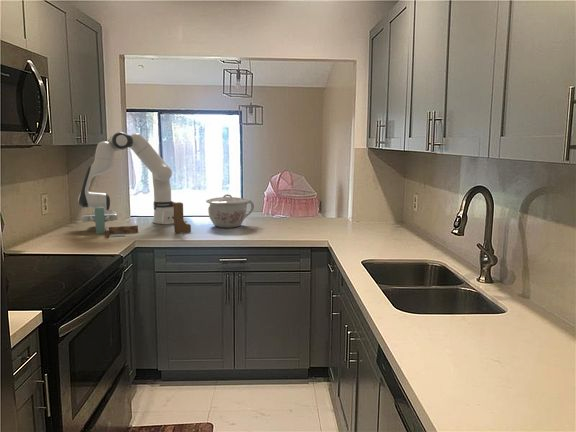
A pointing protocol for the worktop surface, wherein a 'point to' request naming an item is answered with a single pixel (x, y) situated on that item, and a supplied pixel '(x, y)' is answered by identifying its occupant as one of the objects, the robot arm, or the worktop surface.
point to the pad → (117, 235)
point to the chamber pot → (228, 211)
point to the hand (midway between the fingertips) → (99, 219)
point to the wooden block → (180, 219)
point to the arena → (121, 230)
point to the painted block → (99, 220)
